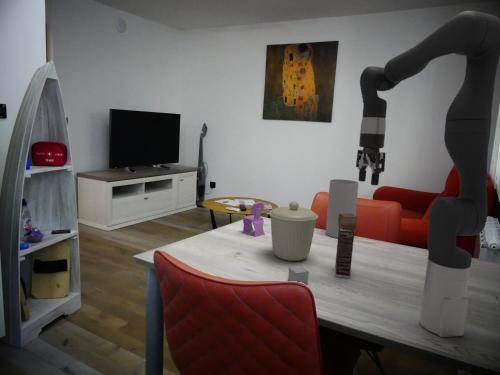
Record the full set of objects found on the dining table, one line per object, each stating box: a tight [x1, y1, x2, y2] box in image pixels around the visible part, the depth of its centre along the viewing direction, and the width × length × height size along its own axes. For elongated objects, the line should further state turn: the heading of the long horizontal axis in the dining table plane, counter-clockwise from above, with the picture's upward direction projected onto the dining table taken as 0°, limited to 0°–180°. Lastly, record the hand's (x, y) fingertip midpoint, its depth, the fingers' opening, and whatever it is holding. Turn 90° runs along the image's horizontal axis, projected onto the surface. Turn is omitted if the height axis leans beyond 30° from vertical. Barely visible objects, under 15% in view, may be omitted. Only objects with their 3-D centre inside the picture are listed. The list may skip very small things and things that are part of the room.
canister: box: [268, 201, 319, 262], centre depth 134 cm, size 18×18×21 cm
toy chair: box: [242, 201, 266, 238], centre depth 162 cm, size 8×9×15 cm
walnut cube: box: [338, 213, 358, 231], centre depth 119 cm, size 4×4×4 cm
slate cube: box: [287, 265, 310, 286], centre depth 113 cm, size 4×4×4 cm
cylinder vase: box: [325, 178, 360, 239], centre depth 164 cm, size 12×12×25 cm
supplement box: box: [334, 227, 355, 279], centre depth 121 cm, size 9×5×16 cm, turn 168°
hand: (367, 183), depth 117 cm, fingers open, 8 cm apart
